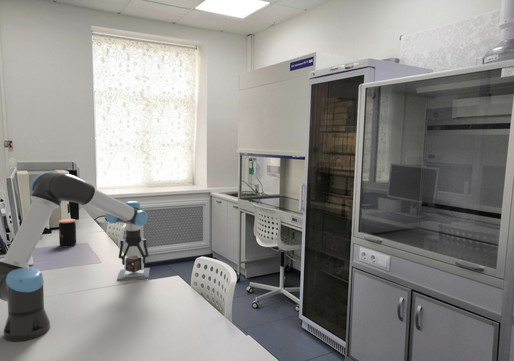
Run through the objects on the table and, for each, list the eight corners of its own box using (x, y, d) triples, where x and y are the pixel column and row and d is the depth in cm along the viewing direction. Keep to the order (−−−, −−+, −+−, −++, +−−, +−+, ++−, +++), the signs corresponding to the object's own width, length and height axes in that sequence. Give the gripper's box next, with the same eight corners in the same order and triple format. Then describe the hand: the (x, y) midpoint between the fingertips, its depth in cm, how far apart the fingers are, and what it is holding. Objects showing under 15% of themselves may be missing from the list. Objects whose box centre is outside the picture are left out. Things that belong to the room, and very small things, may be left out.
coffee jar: (60, 244, 269) (59, 219, 267) (76, 242, 273) (75, 218, 271) (59, 247, 259) (58, 222, 257) (76, 246, 263) (75, 221, 262)
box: (125, 270, 206) (125, 257, 205) (134, 267, 211) (133, 255, 210) (133, 272, 203) (133, 259, 202) (142, 269, 208) (141, 256, 207)
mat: (148, 278, 201) (148, 277, 201) (116, 280, 197) (116, 279, 197) (149, 269, 217) (149, 267, 217) (120, 270, 213) (120, 269, 213)
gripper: (153, 227, 211) (153, 266, 213) (113, 228, 206) (114, 268, 208) (152, 230, 203) (153, 270, 206) (111, 231, 199) (112, 273, 201)
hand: (134, 269), depth 207 cm, fingers closed on box, 8 cm apart
